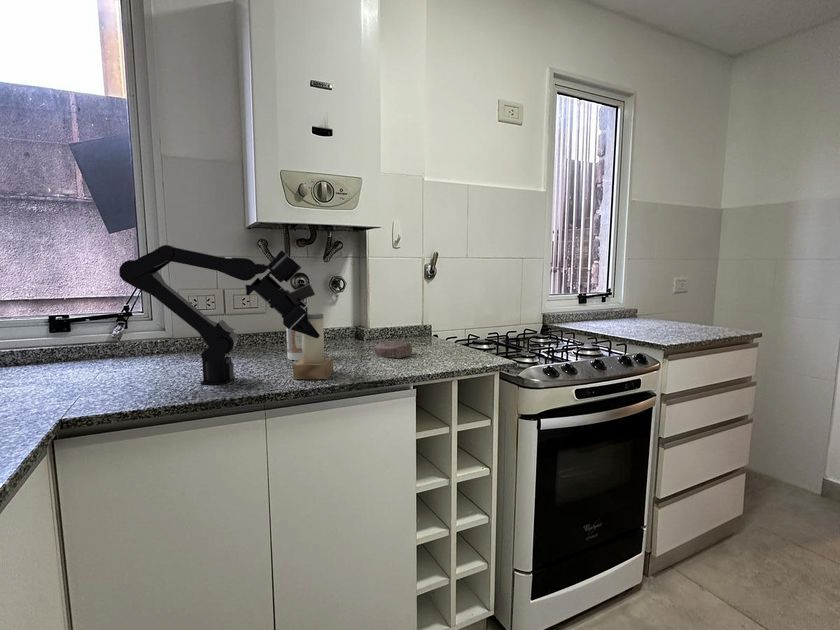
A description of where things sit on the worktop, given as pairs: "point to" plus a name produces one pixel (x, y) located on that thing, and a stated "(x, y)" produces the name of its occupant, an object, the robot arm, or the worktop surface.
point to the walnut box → (313, 369)
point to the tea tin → (314, 341)
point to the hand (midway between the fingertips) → (318, 334)
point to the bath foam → (294, 345)
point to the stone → (393, 349)
